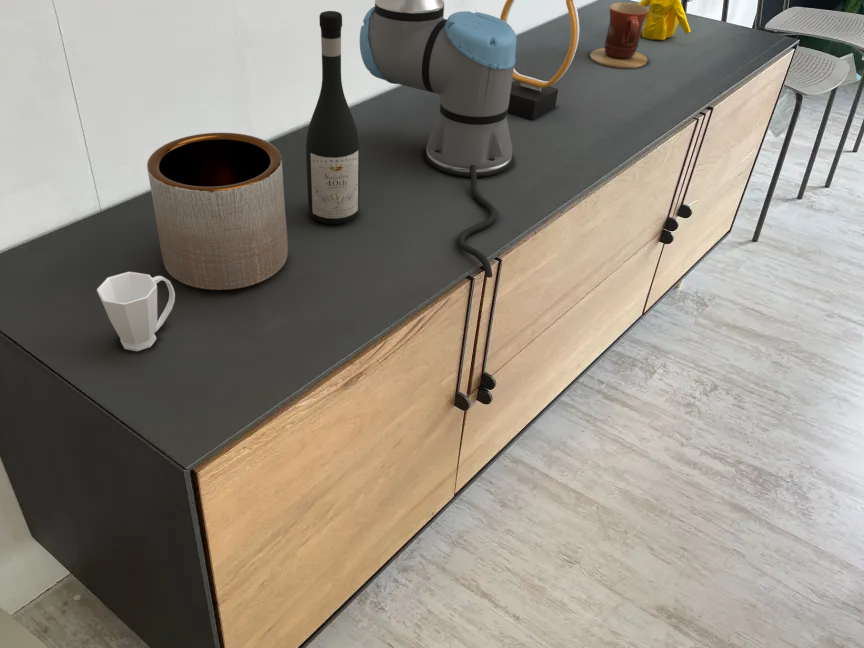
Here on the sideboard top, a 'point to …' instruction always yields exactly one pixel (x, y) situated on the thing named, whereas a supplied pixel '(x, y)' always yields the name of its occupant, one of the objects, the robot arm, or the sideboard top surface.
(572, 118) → the sideboard top surface
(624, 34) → the mug
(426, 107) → the sideboard top surface
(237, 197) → the planter
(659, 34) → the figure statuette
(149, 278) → the cup
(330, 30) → the wine bottle
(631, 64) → the tan round disc
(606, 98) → the sideboard top surface
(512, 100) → the lamp
